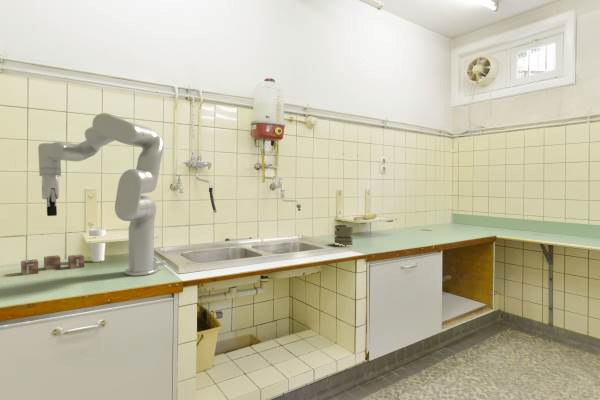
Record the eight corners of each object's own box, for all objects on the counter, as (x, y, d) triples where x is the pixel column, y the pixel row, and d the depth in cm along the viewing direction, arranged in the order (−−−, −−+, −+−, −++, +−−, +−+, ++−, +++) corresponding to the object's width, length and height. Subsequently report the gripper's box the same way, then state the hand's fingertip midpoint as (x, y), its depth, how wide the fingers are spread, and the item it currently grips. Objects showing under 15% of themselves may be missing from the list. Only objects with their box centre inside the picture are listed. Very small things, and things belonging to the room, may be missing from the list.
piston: (343, 227, 208) (330, 225, 217) (342, 247, 209) (330, 244, 218) (356, 226, 215) (344, 224, 224) (356, 245, 215) (343, 242, 224)
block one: (81, 265, 154) (81, 254, 153) (84, 267, 150) (84, 255, 150) (68, 267, 150) (68, 255, 150) (70, 269, 147) (70, 257, 146)
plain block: (58, 266, 151) (58, 255, 151) (60, 268, 147) (60, 257, 147) (44, 268, 148) (43, 256, 147) (46, 270, 144) (45, 258, 144)
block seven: (36, 271, 143) (36, 259, 142) (38, 273, 139) (38, 261, 139) (21, 273, 139) (21, 260, 139) (22, 275, 136) (22, 262, 135)
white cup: (86, 262, 159) (85, 230, 158) (94, 259, 165) (94, 228, 165) (101, 262, 159) (101, 230, 158) (109, 259, 166) (108, 228, 165)
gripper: (36, 173, 150) (38, 215, 151) (42, 171, 139) (43, 217, 140) (57, 173, 155) (59, 214, 156) (64, 172, 144) (65, 216, 145)
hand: (52, 215), depth 148 cm, fingers closed
